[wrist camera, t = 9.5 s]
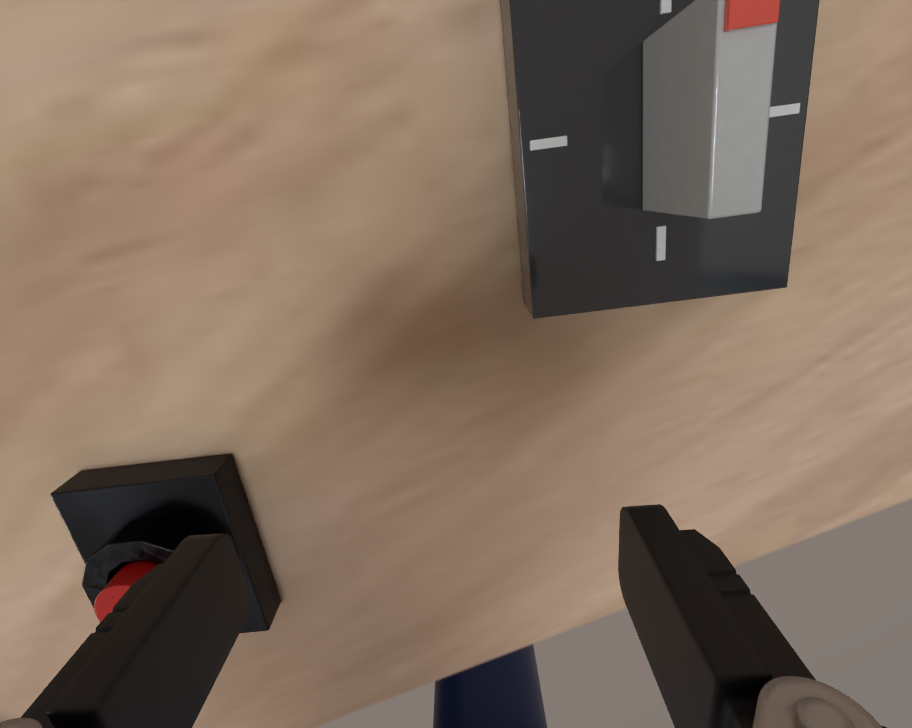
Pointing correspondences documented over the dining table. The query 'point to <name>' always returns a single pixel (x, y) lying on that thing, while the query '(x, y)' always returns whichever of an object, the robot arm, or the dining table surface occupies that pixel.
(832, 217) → the dining table surface
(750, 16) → the knob
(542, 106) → the dark grey base plate
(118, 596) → the power button
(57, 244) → the dining table surface
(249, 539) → the push button base
